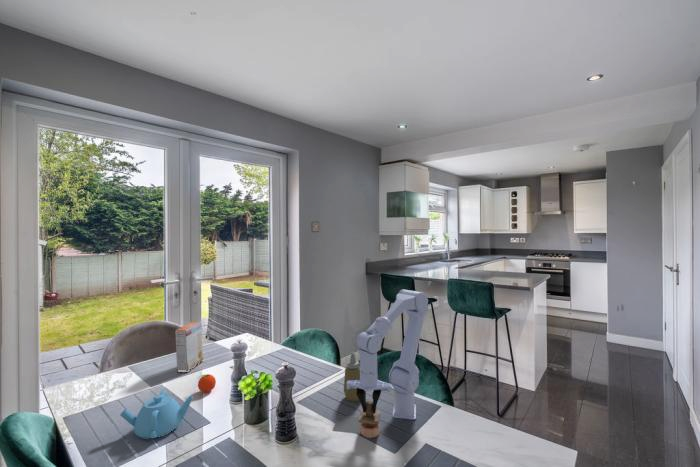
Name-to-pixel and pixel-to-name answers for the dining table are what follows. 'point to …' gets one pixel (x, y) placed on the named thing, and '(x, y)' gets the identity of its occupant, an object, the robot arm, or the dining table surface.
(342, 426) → the coaster
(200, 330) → the cracker box
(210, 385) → the clementine
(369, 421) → the lid
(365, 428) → the bowl
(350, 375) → the squeeze bottle
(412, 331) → the robot arm
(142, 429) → the teapot
